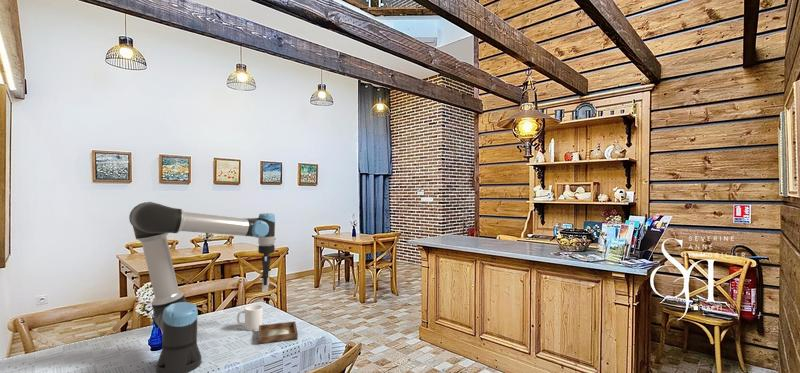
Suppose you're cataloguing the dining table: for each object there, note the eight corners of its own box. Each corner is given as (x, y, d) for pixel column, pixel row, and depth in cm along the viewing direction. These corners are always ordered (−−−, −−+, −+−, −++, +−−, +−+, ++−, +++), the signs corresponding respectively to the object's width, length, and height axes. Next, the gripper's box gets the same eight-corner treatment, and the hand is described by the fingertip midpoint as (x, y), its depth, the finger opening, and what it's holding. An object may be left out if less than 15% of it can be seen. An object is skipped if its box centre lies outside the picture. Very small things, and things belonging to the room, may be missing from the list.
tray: (258, 344, 164) (258, 337, 164) (259, 331, 179) (259, 325, 179) (297, 339, 170) (297, 333, 170) (295, 327, 185) (295, 321, 185)
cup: (261, 330, 181) (261, 309, 181) (235, 332, 178) (235, 311, 178) (263, 324, 189) (263, 304, 189) (238, 326, 186) (238, 306, 186)
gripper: (274, 248, 170) (273, 294, 170) (275, 241, 194) (274, 281, 194) (256, 249, 168) (255, 295, 168) (260, 241, 192) (259, 282, 191)
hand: (265, 288), depth 181 cm, fingers open, 13 cm apart
